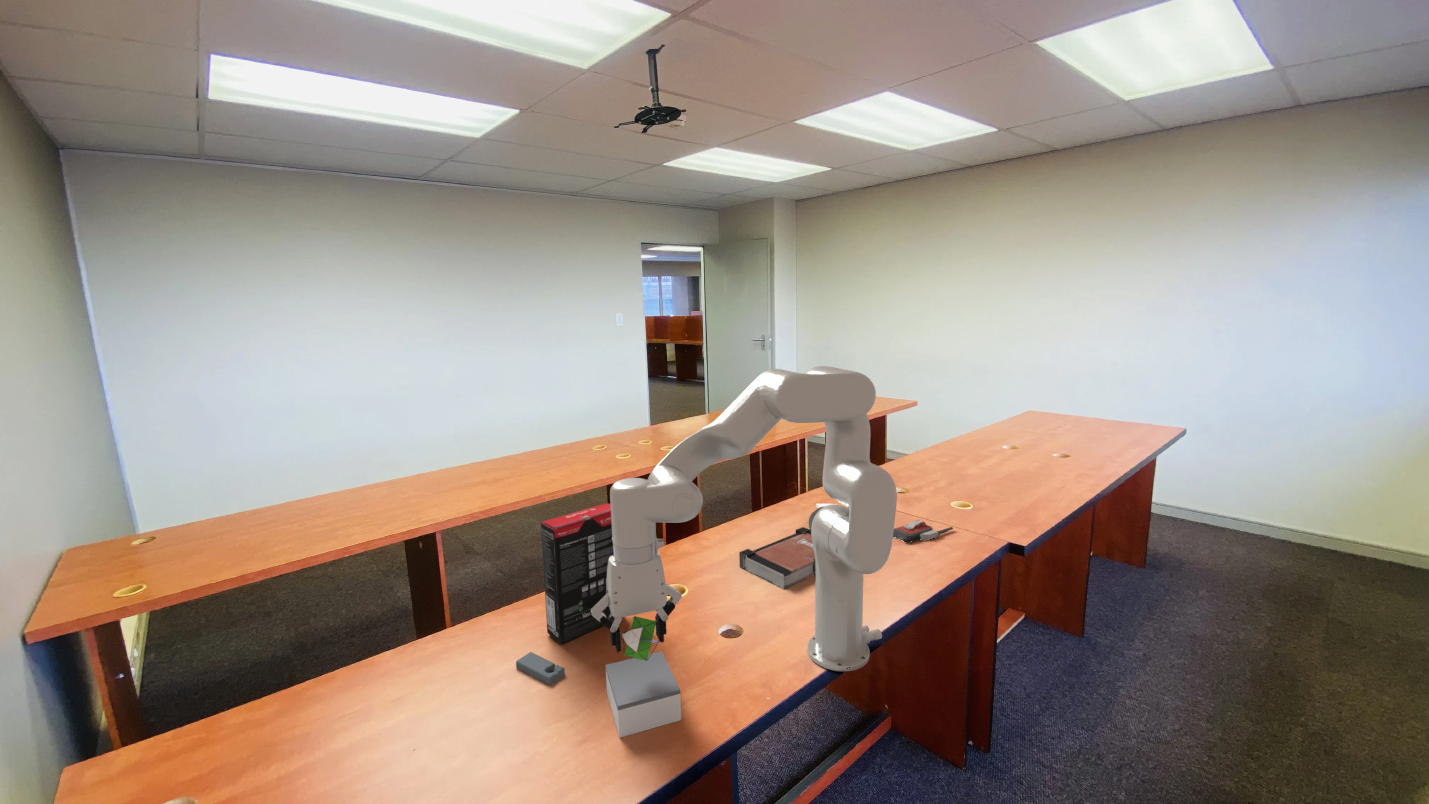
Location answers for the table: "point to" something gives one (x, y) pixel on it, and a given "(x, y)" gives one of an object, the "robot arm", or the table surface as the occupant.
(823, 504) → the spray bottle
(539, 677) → the bracket
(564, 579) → the graphics card box
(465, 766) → the table surface
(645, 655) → the geometric puzzle
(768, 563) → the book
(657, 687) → the grey stand
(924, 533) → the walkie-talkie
